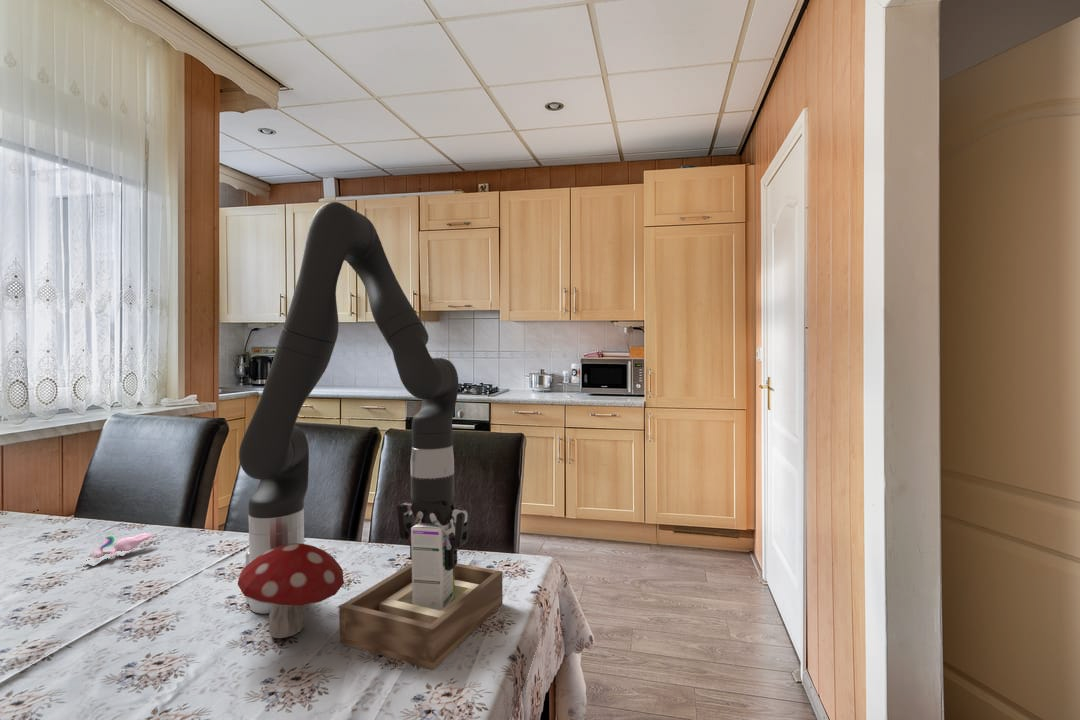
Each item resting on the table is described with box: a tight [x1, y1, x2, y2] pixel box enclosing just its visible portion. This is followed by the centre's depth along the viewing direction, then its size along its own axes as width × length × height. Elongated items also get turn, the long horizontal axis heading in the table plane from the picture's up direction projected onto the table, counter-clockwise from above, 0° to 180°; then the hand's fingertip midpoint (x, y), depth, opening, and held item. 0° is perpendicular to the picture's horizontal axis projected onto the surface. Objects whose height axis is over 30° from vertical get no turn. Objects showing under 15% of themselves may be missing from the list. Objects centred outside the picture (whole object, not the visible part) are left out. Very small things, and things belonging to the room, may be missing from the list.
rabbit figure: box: [81, 532, 157, 561], centre depth 120 cm, size 6×6×15 cm
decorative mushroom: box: [236, 543, 344, 639], centre depth 87 cm, size 16×16×15 cm
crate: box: [338, 562, 503, 671], centre depth 91 cm, size 18×22×6 cm
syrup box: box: [411, 518, 455, 611], centre depth 92 cm, size 6×6×14 cm
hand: (433, 565), depth 92 cm, fingers closed on syrup box, 6 cm apart
